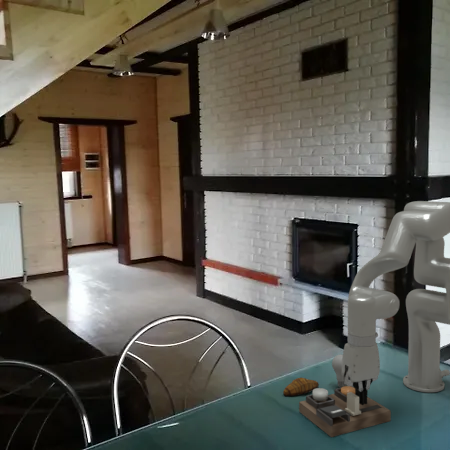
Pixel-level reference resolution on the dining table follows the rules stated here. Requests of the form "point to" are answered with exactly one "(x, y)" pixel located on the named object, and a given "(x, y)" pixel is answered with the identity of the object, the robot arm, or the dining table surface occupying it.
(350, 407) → the cream stepped block
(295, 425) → the dining table surface
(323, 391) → the grey button
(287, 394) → the croissant
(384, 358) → the dining table surface
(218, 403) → the dining table surface
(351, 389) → the orange button
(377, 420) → the panel
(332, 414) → the rocker
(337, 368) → the lightbulb
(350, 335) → the robot arm
